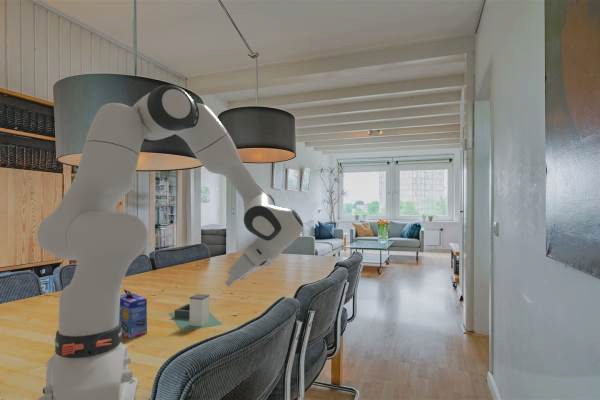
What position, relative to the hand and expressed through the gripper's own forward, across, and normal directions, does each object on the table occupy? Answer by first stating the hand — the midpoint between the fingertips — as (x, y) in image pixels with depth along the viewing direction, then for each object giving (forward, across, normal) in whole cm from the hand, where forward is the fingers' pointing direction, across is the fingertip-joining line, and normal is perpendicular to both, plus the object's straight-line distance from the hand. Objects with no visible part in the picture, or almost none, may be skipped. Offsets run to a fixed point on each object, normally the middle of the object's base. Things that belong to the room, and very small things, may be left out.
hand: (233, 281), depth 111 cm
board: (+23, -4, 0) cm, 23 cm away
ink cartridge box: (+31, +12, -8) cm, 35 cm away
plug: (+19, 0, +2) cm, 19 cm away
